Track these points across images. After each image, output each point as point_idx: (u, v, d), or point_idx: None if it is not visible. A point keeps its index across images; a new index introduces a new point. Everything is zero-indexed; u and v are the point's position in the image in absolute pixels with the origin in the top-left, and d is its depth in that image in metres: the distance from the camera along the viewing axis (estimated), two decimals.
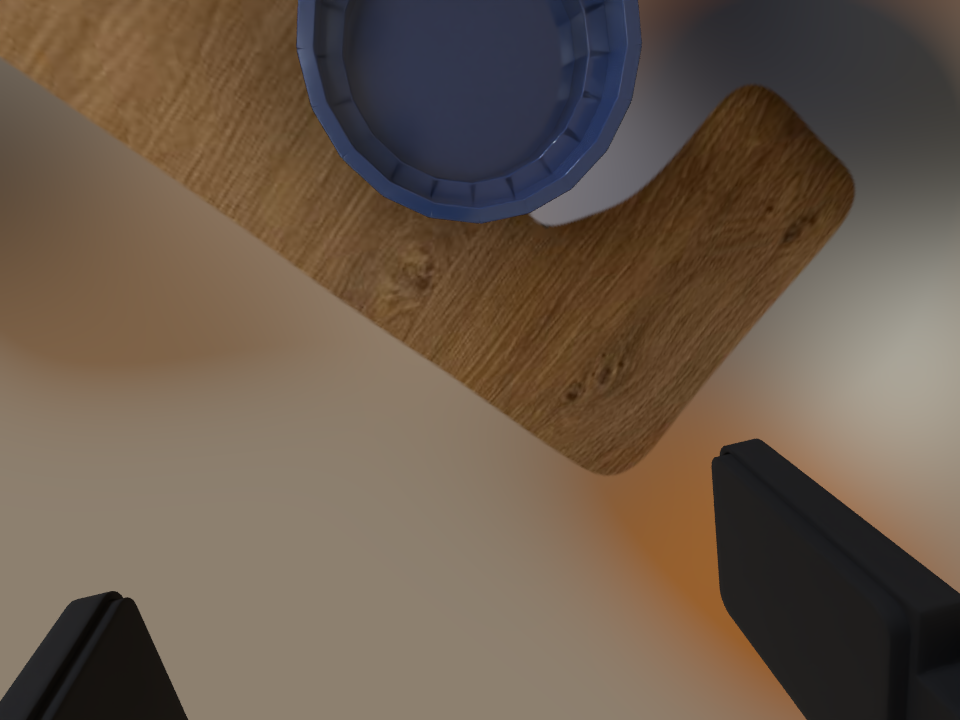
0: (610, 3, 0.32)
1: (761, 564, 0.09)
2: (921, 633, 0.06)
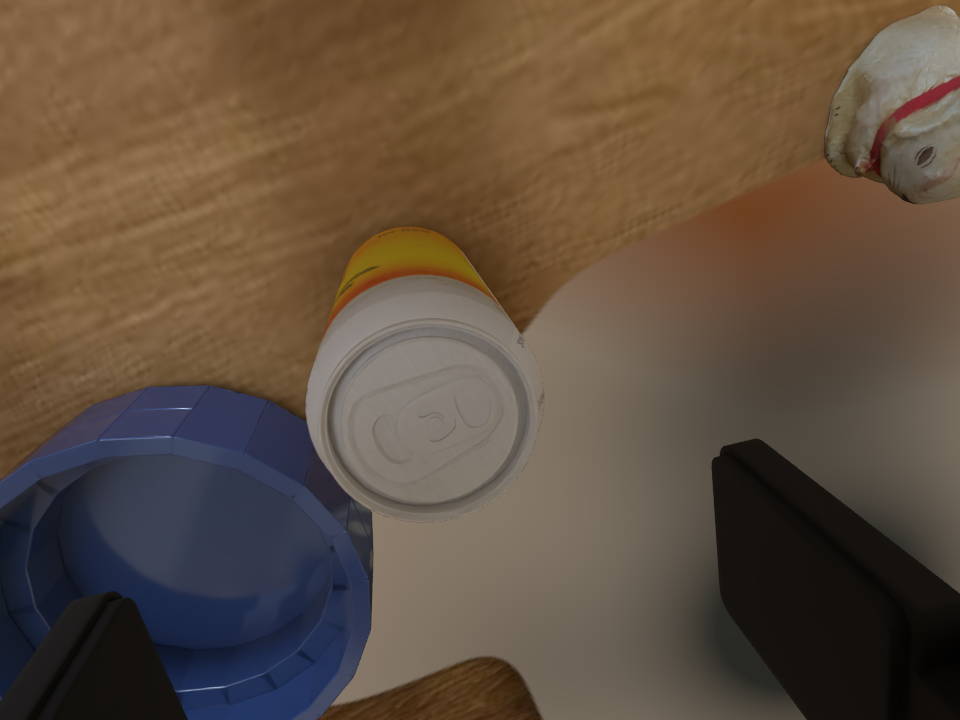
0: None
1: (761, 564, 0.09)
2: (921, 633, 0.06)
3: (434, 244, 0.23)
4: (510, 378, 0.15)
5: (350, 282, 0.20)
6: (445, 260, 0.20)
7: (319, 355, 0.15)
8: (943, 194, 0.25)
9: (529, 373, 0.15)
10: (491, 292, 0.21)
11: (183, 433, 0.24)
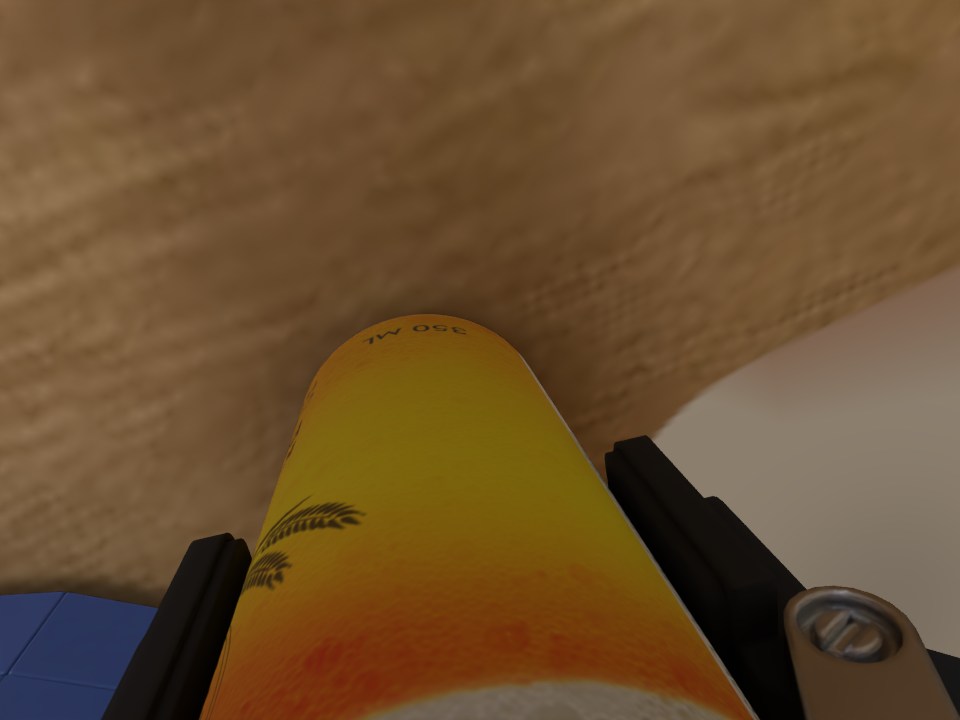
0: None
1: None
2: (737, 608, 0.07)
3: (488, 386, 0.11)
4: None
5: (285, 537, 0.08)
6: (538, 483, 0.08)
7: None
8: None
9: None
10: (652, 556, 0.08)
11: None
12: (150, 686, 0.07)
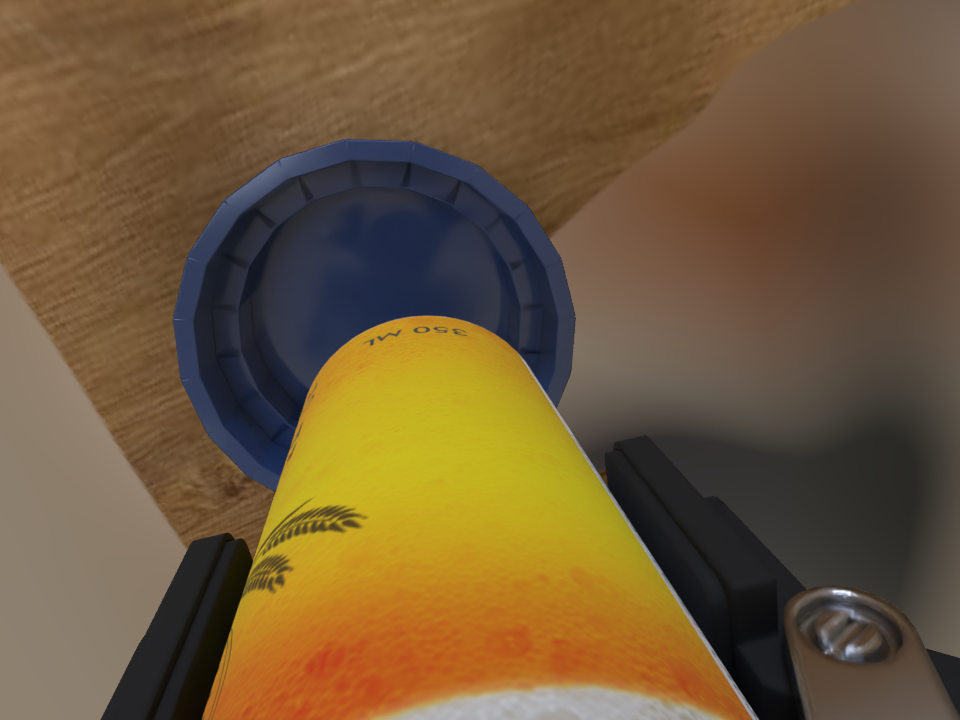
0: (543, 363, 0.30)
1: None
2: (737, 608, 0.07)
3: (489, 388, 0.11)
4: None
5: (286, 540, 0.08)
6: (539, 486, 0.08)
7: None
8: None
9: None
10: (653, 558, 0.08)
11: None
12: (150, 686, 0.07)
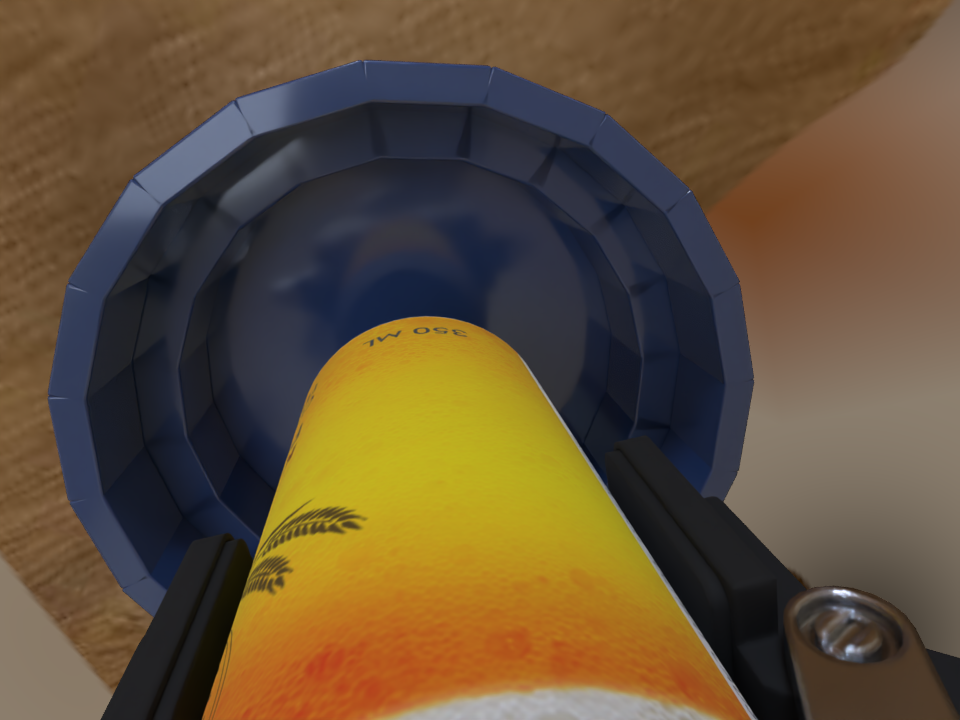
0: (680, 447, 0.18)
1: None
2: (737, 608, 0.07)
3: (489, 389, 0.11)
4: None
5: (286, 542, 0.08)
6: (539, 487, 0.08)
7: None
8: None
9: None
10: (653, 560, 0.08)
11: None
12: (150, 686, 0.07)
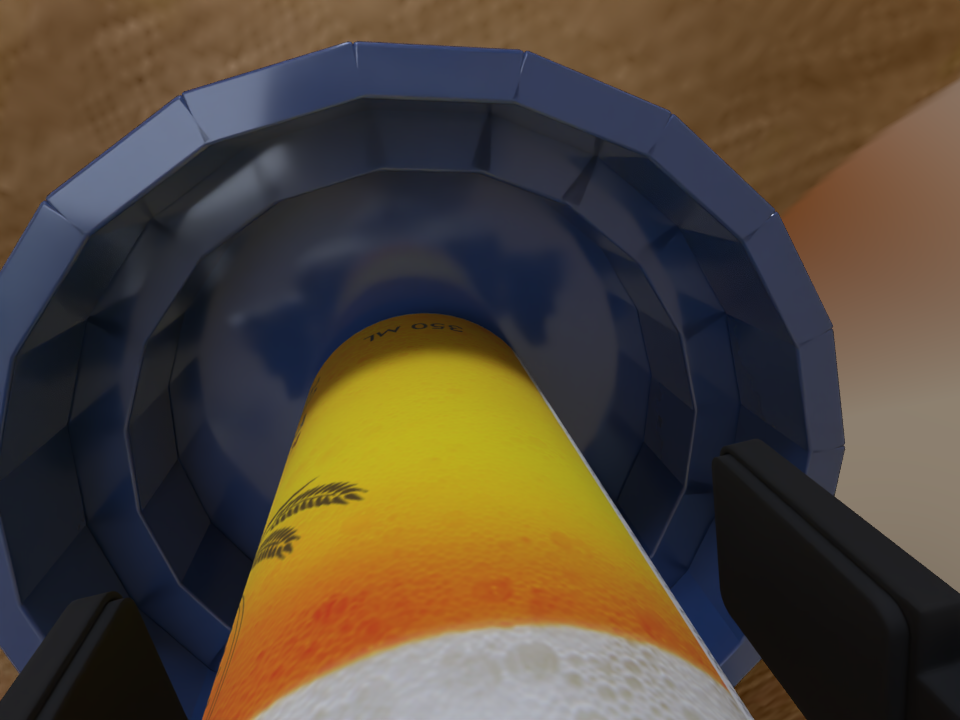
0: None
1: (761, 564, 0.09)
2: (921, 634, 0.06)
3: (482, 379, 0.11)
4: None
5: (293, 515, 0.08)
6: (526, 464, 0.08)
7: None
8: None
9: None
10: (632, 532, 0.09)
11: None
12: None
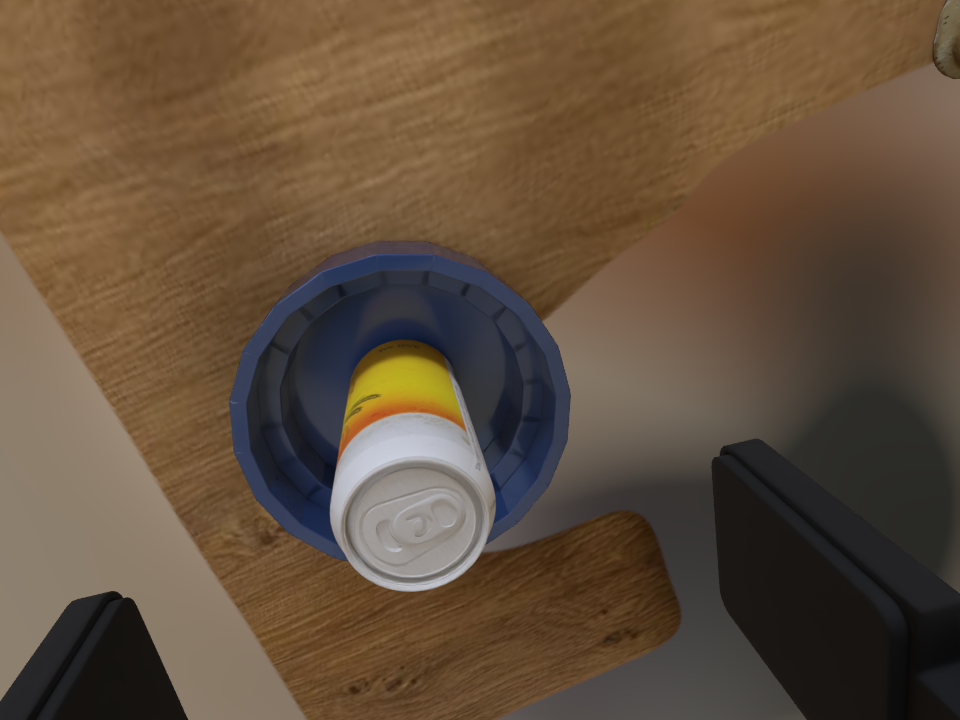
0: (543, 430, 0.34)
1: (761, 564, 0.09)
2: (921, 633, 0.06)
3: (422, 366, 0.31)
4: (470, 493, 0.23)
5: (359, 404, 0.28)
6: (429, 389, 0.28)
7: (340, 477, 0.22)
8: None
9: (483, 489, 0.23)
10: (463, 411, 0.28)
11: (439, 255, 0.30)
12: None
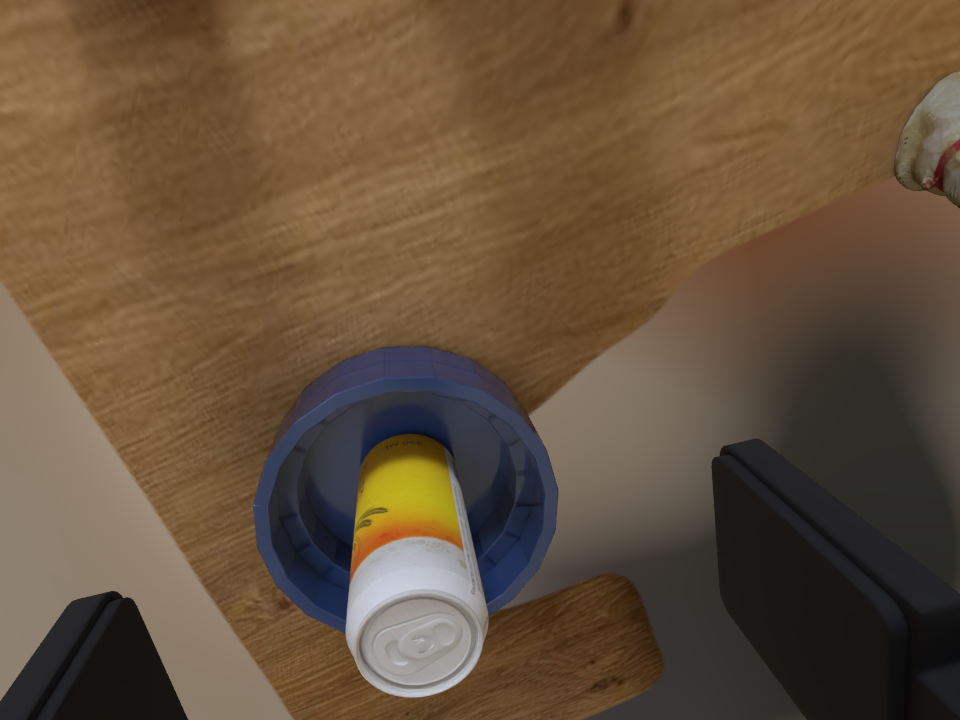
0: (534, 516, 0.38)
1: (761, 564, 0.09)
2: (921, 633, 0.06)
3: (425, 470, 0.34)
4: (466, 616, 0.26)
5: (369, 515, 0.31)
6: (431, 502, 0.31)
7: (354, 602, 0.26)
8: None
9: (477, 612, 0.26)
10: (461, 520, 0.32)
11: (439, 375, 0.33)
12: None
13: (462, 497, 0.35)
